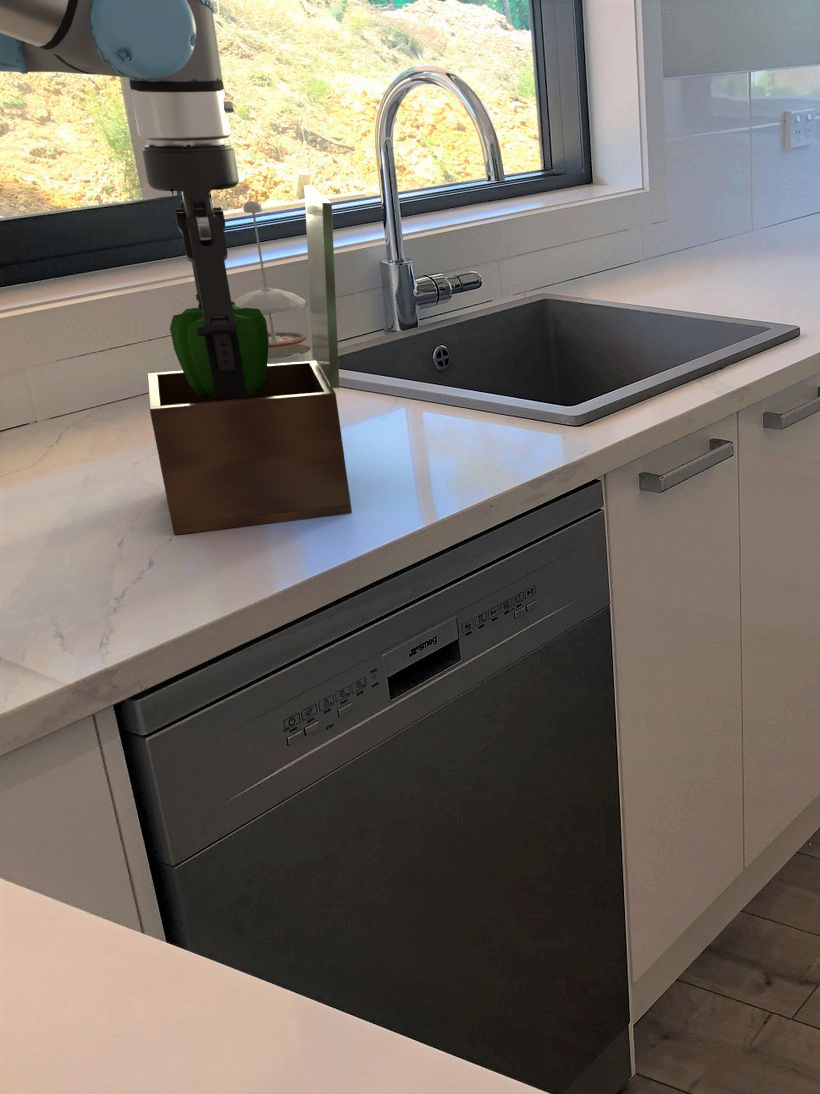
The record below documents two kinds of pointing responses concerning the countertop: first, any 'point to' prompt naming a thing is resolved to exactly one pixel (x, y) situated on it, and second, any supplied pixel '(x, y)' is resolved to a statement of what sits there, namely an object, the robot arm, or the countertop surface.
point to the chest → (250, 451)
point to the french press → (274, 303)
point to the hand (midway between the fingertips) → (229, 392)
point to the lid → (322, 284)
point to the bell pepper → (196, 355)
